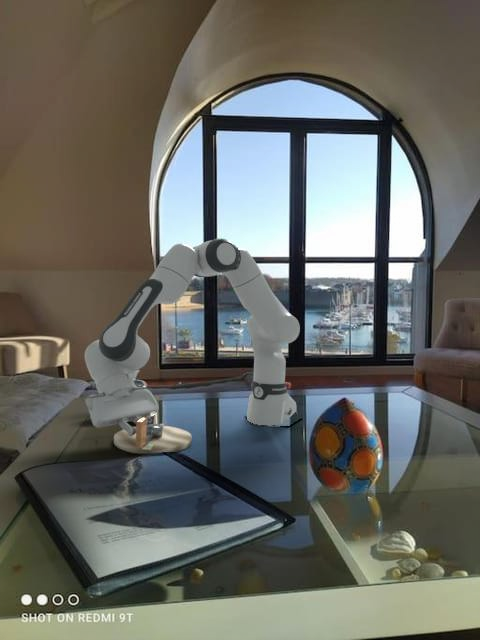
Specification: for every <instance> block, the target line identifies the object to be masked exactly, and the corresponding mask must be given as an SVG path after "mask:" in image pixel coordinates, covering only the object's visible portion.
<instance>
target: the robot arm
mask: <svg viewBox="0 0 480 640" xmlns="http://www.w3.org/2000/svg"><path fill="white" fill-rule="evenodd" d="M158 263H159V264H158V265H157V267H156V268H155V270H154V272H153V273H152V274H151V276H149V279H147V280H145V281H144V282H143V283H142V284H140V286H139V287H138V288H137V290H136V292H135V293H134V294H133V295H132V297H131V298H130V299H129V301H127V303H126V305H125V307H124V308H123V309H122V311H121V312H120V313H119V315H118V316H117V317H116V318H115V319H114V320H113V321H112V322H111V323H109V324H108V325H107V326H106V327H104V329H103V330H102V332H101V334H100V337H99V339H96V340H94V341H93V342H91V343H90V344H89V345H88V346H86V349H85V350H84V351H85V352H84V354H83V355H84V361H85V365H86V368H87V370H88V372H89V374H90V377H91V378H92V380H93V381H94V383H95V387H96V390H97V392H98V393H96V394H89V395H88V396H87V397H86V398H85V400H84V401H85V404H86V407H87V409H88V411H89V412H88V413H89V416H90V421H91V423H92V425H93V426H94V427H96V428H97V429H101V428H105V427H108V426H114V425H117V424H118V425H119V427H120V428H122V430H125V431H127V433H128V435H129V436H132V435H135V433H136V428H134V427H135V426H131V425H130V424H129V423H128V422H131V421H133V422H132V423H133V424H136V423H137V421H138V420H140V419H141V418H147V417H152V416H153V417H154V415H156V413H158V412H159V408H160V407H159V404H158V402H157V400H156V398H155V397H154V395H153V393H152V391H150V390H149V389H148V388H147V386H148V384H147V382H146V381H144V380H141V379H136V380H135V379H132V378H129V377H128V374H129V373H132V372H134V371H136V370H140V369H143V367H145V366H146V365H147V364H148V362H149V361H150V358H151V347H150V346H149V344H148V343H147V342H146V341H145V340H144V339H143V338H142V337H140V336H139V335H138V330H139V327H140V326H141V325H142V323H143V322H144V320H145V319H146V317H147V315H149V313H150V311H151V310H152V308H154V306H156V305H159V304H161V305H172V304H174V303H177V302H179V301H180V299H181V298H182V297H184V295H185V293H186V291H187V289H188V287H189V286H190V285H191V282H192V279H193V278H194V277H197V278H206V277H215V276H217V275H220V274H223V275H225V277H226V278H227V279H228V281H229V283H230V285H231V287H232V289H233V291H234V293H235V294H236V296H237V298H238V300H239V301H240V304H241V305H242V307H243V308H244V309H245V310H246V311H247V312H249V314H250V316H249V317H248V319H247V321H246V322H247V323H246V328H247V331H248V333H249V335H250V339H251V344H252V352H253V362H254V363H253V380H251V385H250V386H251V393H250V394H249V395H248V396H249V398H248V404H247V409H246V410H247V411H246V413H247V420H248V421H249V422H248V421H247V420H246V421H247V422H248V423H250V422H251V423H250V424H252V423H253V425H256V424H257V426H261V425H268V426H267V427H271V426H270V425H278V424H283V425H286V424H287V423H285V421H286V420H287V419H288V418H289V417H291V416H292V415H293V414H294V413H295V412H296V413H297V403H296V401H295V400H294V399H293V398H292V397H291V396H290V394H289V393H288V389H291V387H292V383H291V382H288V381H287V382H286V366H287V365H286V363H287V361H286V357H285V356H284V353H283V351H282V347H281V345H286V344H291V343H293V342H294V341H296V340H297V338H298V337H299V335H300V332H301V330H300V329H301V327H300V323H299V320H298V319H297V318H296V317H295V316H294V315H292V314H291V313H290V312H289V311H288V310H287V308H286V307H285V306H284V305H283V303H282V302H281V301H280V300H279V298H278V297H277V296H276V295H275V293H274V292H273V291H272V289H271V287H270V285H269V283H268V282H267V280H266V278H265V276H264V274H263V273H262V271H261V269H260V267H259V266H258V264H257V262H256V260H254V258H253V256H252V254H250V252H249V251H248V250H247V249H246V248H244V247H237V246H236V245H235V243H233V242H232V241H231V240H229V239H226V238H219V237H218V238H214V239H212V240H207V241H205V242H202V243H201V244H198V245H196V246H193V247H191V245H189V244H185V243H177V244H174V245H173V246H172V247H171V248H170V249H168V251H167V252H166V254H165V255H164V256H163V257H162V259H161V260H160V262H158Z"/></svg>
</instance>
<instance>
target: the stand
mask: <svg viewBox="0 0 480 640" xmlns="http://www.w3.org/2000/svg"><path fill="white" fill-rule="evenodd" d="M133 427H134V428H136V426H133ZM192 440H193V438H192V434H191V432H189V431H187V430H184V429H182V428H179V427H174V426H169V425H164V428H163V433H162V436H160V437H154V438H152V439H151V440H150V441H149V442H148V443H147V444H145V445H144V446H143V447H142V448H141V449H139V448H135V444H136V433H135V435H132V436H129V435H128V433H127V431H125V430H124V429H122V430H119V431H118V432H116V433H115V434H114V436H113V444H114V446H115V447H116V448H117V449H120V450H122V451H124V452H128V453H132V454H139V455H149V454H148V453H155V452H173V453H177V452H181V451H184V450H185V449H188V448H189V447H190V446H191V445H192Z"/></svg>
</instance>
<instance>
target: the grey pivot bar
mask: <svg viewBox="0 0 480 640" xmlns="http://www.w3.org/2000/svg"><path fill="white" fill-rule="evenodd" d="M164 426H165V423H160V424H159V423H148V424H147V418H141V419H140V420H138V421H137V423H135V427H136V444H135V448H139V449H141V448H142V447H143V446H144V445H145V444H147V443H148V442H149V441H150V440H151V439H152V438H154V437H160V436H162V433H163V428H164Z"/></svg>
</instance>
